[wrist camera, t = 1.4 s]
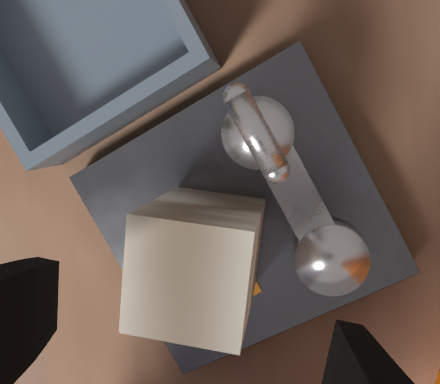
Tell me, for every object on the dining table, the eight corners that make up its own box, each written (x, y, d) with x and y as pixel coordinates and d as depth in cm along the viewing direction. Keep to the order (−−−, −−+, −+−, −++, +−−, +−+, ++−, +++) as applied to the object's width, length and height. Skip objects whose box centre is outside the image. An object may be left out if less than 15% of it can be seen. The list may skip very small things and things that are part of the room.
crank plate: (189, 360, 21) (183, 375, 20) (81, 174, 21) (68, 177, 19) (412, 262, 19) (421, 273, 17) (298, 45, 18) (299, 39, 17)
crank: (378, 269, 18) (411, 322, 13) (313, 297, 18) (323, 358, 14) (275, 75, 17) (271, 57, 12) (212, 111, 18) (186, 107, 13)
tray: (62, 164, 21) (26, 171, 18) (-34, -3, 20) (-89, -25, 17) (221, 68, 19) (210, 57, 16) (120, -121, 18) (88, -168, 15)
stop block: (265, 198, 18) (254, 231, 12) (255, 284, 19) (239, 355, 13) (177, 187, 19) (126, 213, 13) (170, 270, 19) (118, 332, 13)
